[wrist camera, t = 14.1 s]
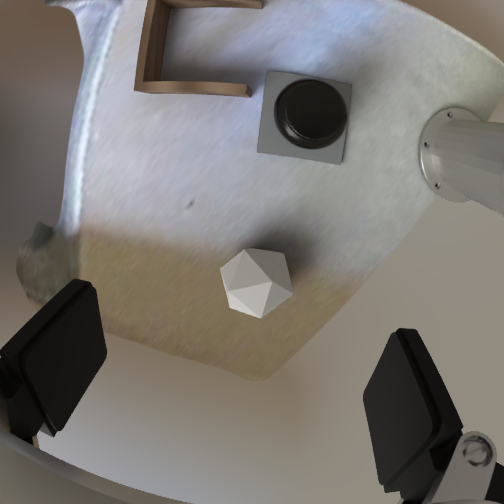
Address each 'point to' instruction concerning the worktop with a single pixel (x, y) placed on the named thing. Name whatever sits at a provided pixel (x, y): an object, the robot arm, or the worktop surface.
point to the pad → (272, 138)
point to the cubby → (153, 50)
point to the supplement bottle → (310, 113)
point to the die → (257, 281)
